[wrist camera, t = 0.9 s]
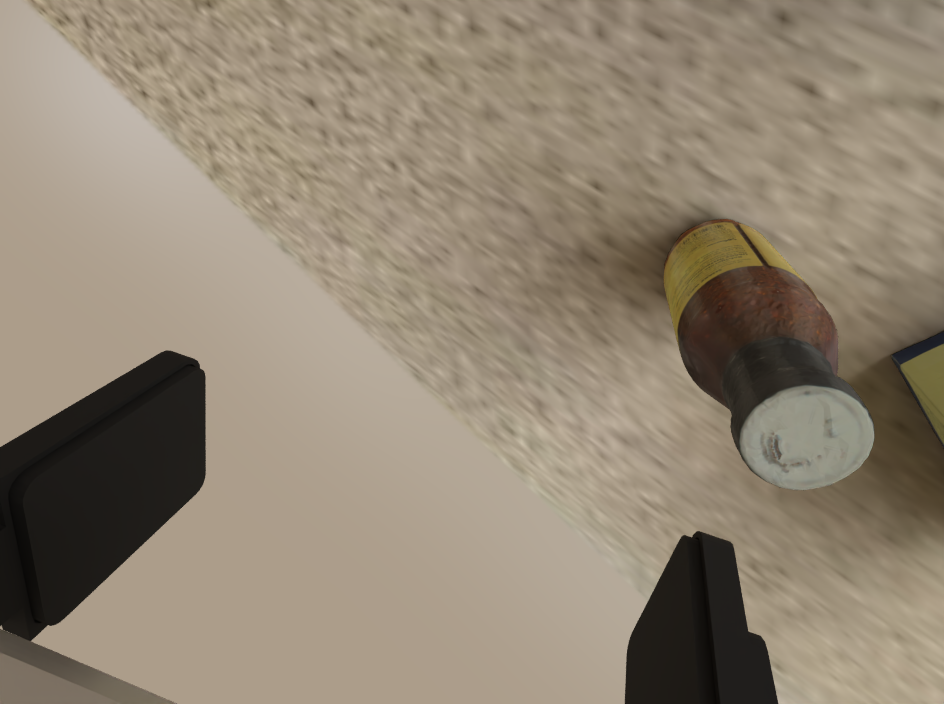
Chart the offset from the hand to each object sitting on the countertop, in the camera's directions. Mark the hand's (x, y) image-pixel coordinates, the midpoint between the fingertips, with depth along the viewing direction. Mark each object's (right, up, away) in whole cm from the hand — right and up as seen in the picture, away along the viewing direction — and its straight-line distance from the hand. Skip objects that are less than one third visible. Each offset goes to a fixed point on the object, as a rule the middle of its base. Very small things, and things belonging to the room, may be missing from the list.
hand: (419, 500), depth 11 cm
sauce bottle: (+16, +8, +26) cm, 31 cm away
